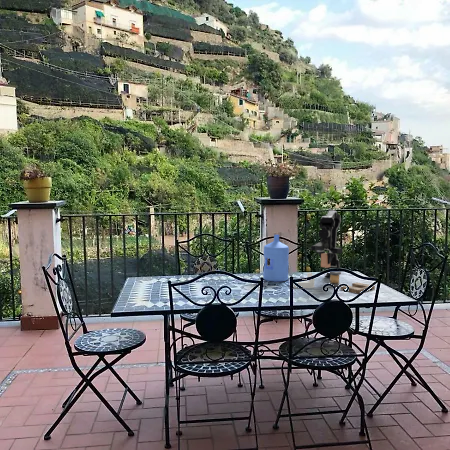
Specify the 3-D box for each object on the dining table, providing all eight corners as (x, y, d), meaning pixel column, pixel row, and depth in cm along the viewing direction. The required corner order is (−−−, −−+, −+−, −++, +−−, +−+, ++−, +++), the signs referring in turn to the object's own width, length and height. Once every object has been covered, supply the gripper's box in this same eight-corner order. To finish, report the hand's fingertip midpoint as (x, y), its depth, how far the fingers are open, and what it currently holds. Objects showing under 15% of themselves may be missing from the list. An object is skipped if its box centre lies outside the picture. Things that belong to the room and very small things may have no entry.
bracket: (311, 285, 254) (311, 273, 253) (314, 288, 247) (314, 275, 246) (289, 285, 254) (289, 272, 253) (291, 288, 247) (292, 275, 246)
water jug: (285, 276, 278) (286, 233, 275) (290, 282, 262) (291, 236, 260) (261, 276, 277) (262, 233, 274) (265, 282, 261) (266, 236, 259)
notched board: (340, 289, 243) (340, 286, 243) (356, 285, 254) (356, 282, 254) (358, 293, 235) (358, 290, 234) (374, 289, 246) (374, 285, 246)
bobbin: (326, 284, 255) (326, 271, 254) (332, 283, 260) (333, 270, 259) (336, 287, 250) (336, 273, 249) (342, 285, 255) (343, 272, 254)
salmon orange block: (320, 266, 257) (321, 253, 256) (324, 266, 259) (325, 253, 259) (326, 267, 254) (326, 254, 253) (330, 267, 256) (330, 253, 256)
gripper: (305, 236, 257) (304, 262, 258) (332, 239, 243) (331, 267, 244) (316, 235, 264) (315, 261, 265) (343, 238, 250) (342, 265, 251)
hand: (325, 263), depth 256 cm, fingers closed on salmon orange block, 4 cm apart
